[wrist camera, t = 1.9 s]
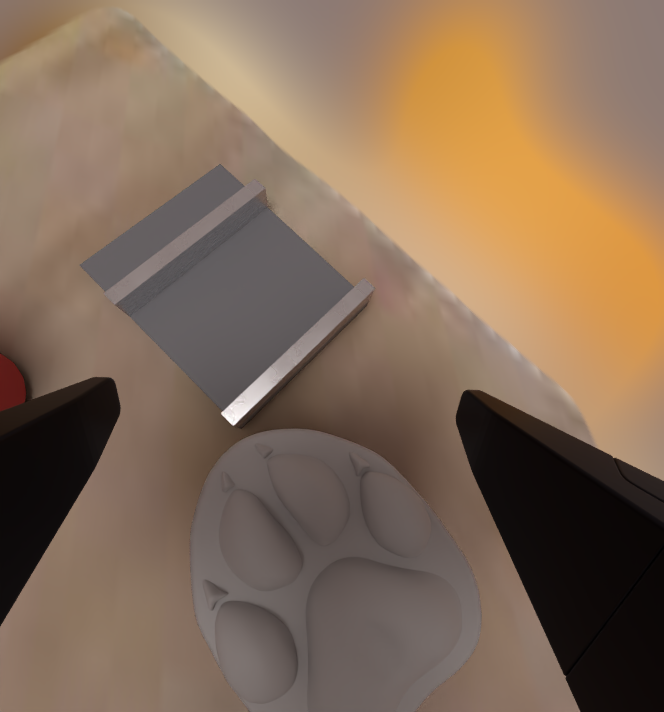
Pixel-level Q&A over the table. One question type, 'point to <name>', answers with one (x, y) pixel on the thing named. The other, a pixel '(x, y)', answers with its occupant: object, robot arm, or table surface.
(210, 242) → the rail board
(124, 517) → the table surface
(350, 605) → the paw print puck
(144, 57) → the table surface
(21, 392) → the beer can
